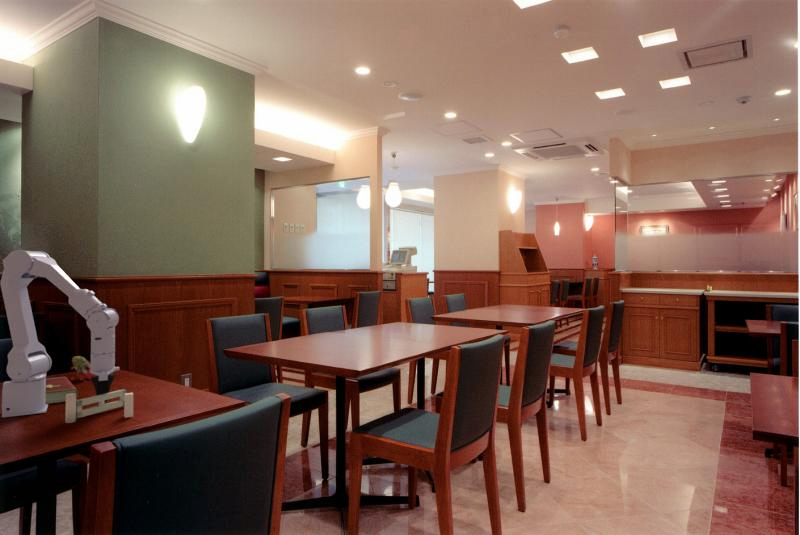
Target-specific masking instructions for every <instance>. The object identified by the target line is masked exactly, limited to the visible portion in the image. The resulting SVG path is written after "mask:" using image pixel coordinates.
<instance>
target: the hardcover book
mask: <svg viewBox="0 0 800 535" xmlns="http://www.w3.org/2000/svg"><path fill="white" fill-rule="evenodd" d="M71 393H76V400H78V389H77V388H76V387H75V385H74V384H73V383H72V382H71V381H70V380H69V379H68V377H67V376H59V377H51V378H46V397H45V404H48V405H49V404H55V403H63V402H66V394H71Z"/></svg>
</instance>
